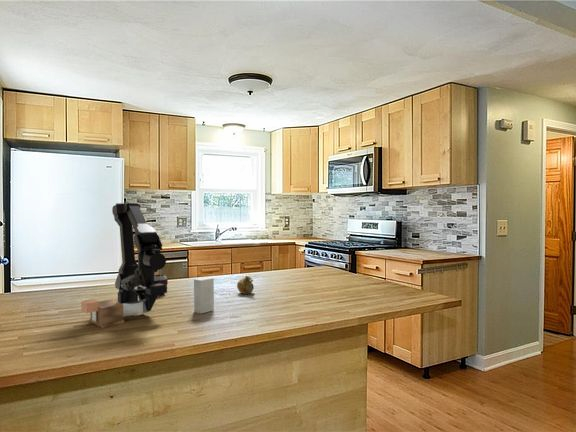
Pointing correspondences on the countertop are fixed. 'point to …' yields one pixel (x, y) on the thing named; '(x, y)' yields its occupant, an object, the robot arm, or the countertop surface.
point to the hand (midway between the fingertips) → (146, 310)
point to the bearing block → (109, 314)
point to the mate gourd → (161, 279)
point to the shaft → (128, 309)
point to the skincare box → (203, 294)
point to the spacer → (90, 306)
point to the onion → (245, 285)
